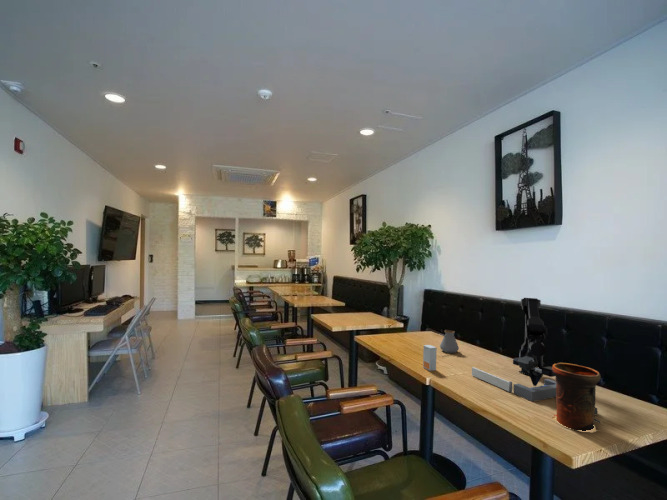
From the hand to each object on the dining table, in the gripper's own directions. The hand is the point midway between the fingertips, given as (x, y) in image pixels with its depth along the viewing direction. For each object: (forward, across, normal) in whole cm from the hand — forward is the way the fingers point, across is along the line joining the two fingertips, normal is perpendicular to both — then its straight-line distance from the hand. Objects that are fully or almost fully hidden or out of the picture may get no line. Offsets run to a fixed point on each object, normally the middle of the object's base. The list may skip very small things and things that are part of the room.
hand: (534, 385), depth 152 cm
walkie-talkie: (+3, +21, -1) cm, 21 cm away
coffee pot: (+3, -67, +4) cm, 67 cm away
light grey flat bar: (+2, -14, -11) cm, 18 cm away
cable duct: (+3, +3, 0) cm, 4 cm away
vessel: (+3, +26, -14) cm, 30 cm away
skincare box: (+3, -41, -26) cm, 48 cm away
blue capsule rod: (+3, +2, 0) cm, 3 cm away
